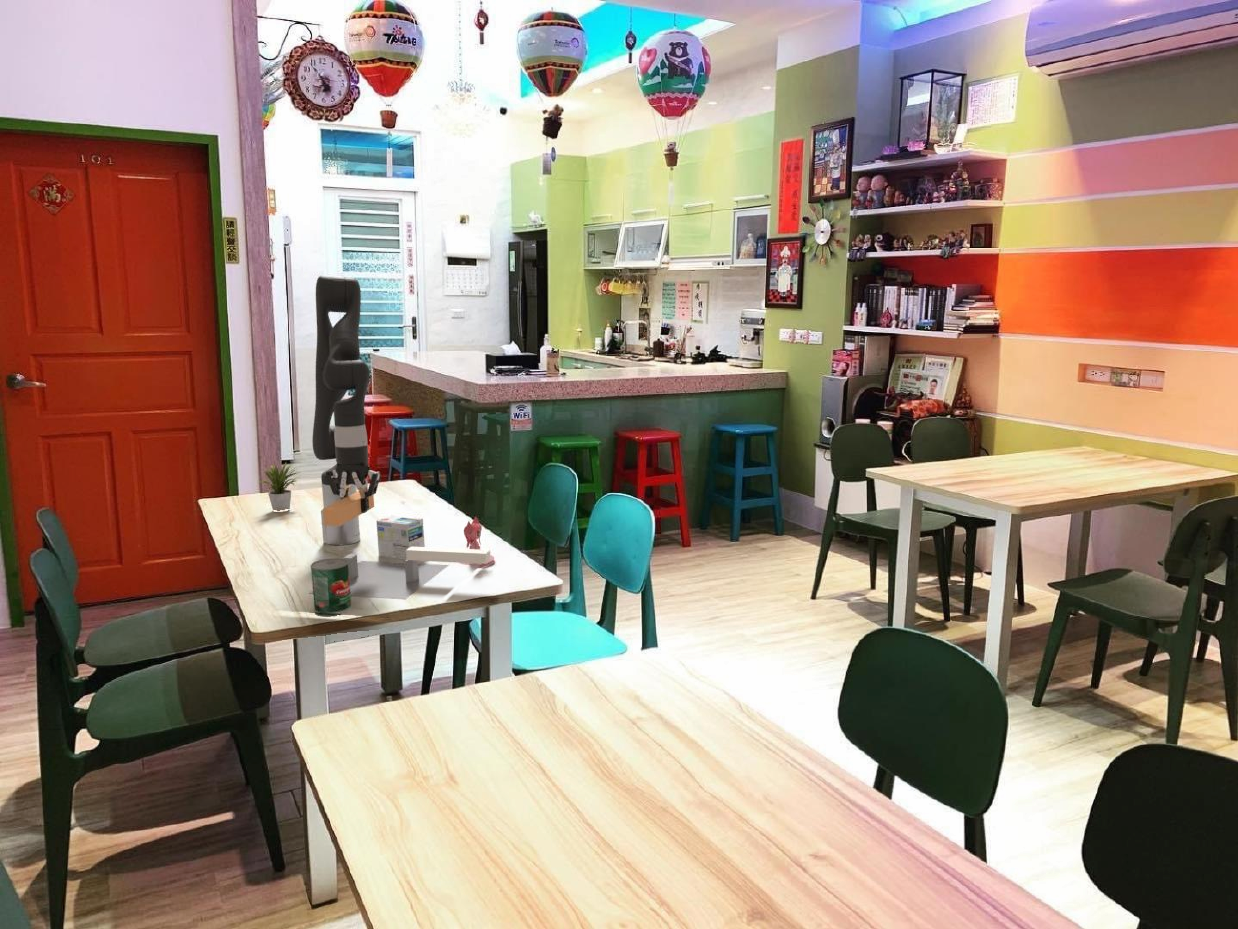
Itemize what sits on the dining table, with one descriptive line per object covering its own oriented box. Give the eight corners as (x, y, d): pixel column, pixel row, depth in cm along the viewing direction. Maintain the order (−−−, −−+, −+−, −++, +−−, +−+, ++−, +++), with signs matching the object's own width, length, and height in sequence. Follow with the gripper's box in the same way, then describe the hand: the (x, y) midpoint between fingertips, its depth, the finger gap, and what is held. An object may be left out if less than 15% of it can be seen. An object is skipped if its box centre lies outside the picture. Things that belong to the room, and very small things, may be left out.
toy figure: (487, 569, 227) (485, 523, 225) (451, 567, 229) (448, 522, 227) (499, 558, 237) (497, 514, 234) (464, 556, 239) (462, 513, 236)
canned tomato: (349, 615, 196) (345, 567, 194) (311, 618, 195) (307, 569, 193) (353, 603, 204) (350, 557, 202) (317, 605, 202) (313, 559, 200)
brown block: (323, 525, 209) (322, 508, 208) (359, 506, 226) (358, 490, 225) (339, 526, 208) (338, 509, 207) (374, 506, 225) (373, 491, 224)
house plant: (294, 516, 284) (290, 466, 281) (251, 517, 285) (246, 466, 282) (310, 506, 298) (306, 458, 295) (269, 506, 299) (264, 458, 296)
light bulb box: (426, 557, 239) (424, 518, 237) (410, 564, 233) (408, 524, 231) (394, 552, 243) (391, 514, 241) (377, 559, 237) (375, 520, 235)
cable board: (308, 597, 208) (306, 571, 207) (361, 564, 233) (360, 541, 232) (405, 603, 203) (403, 576, 202) (448, 568, 228) (447, 545, 227)
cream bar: (406, 560, 214) (406, 550, 213) (411, 556, 217) (411, 546, 216) (486, 563, 210) (485, 553, 209) (490, 560, 213) (490, 550, 212)
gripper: (316, 445, 214) (321, 514, 217) (371, 446, 211) (376, 517, 215) (331, 439, 221) (336, 507, 225) (385, 441, 219) (389, 509, 222)
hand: (355, 511), depth 220 cm, fingers closed on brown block, 4 cm apart
